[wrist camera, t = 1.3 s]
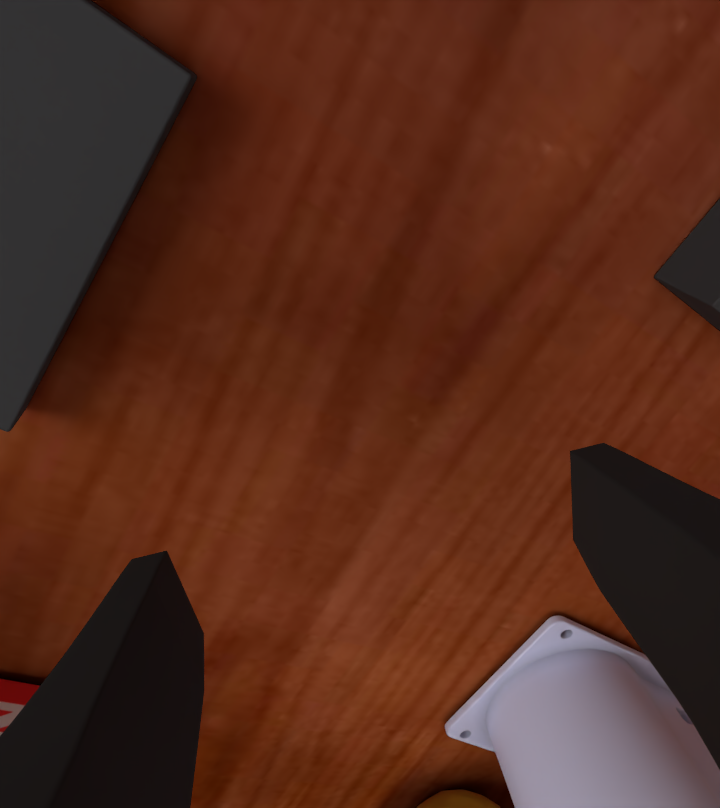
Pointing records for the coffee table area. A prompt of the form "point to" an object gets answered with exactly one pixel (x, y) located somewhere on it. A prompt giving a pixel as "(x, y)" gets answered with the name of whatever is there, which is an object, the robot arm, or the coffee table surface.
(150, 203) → the coffee table surface
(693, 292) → the dark grey rectangular block
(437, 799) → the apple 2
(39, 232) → the base pad
